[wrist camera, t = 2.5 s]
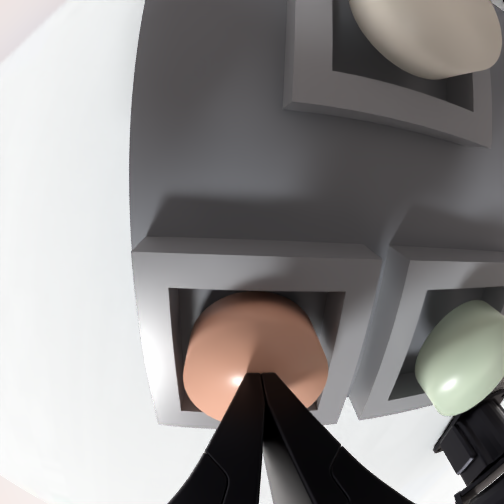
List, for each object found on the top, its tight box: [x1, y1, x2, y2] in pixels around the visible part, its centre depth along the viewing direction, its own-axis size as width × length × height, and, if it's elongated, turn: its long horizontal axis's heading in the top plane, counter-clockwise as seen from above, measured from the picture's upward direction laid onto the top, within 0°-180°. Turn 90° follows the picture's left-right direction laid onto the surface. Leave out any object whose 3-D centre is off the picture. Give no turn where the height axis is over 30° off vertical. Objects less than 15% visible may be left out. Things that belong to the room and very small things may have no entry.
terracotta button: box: [183, 291, 328, 421], centre depth 9 cm, size 4×4×2 cm
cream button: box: [349, 0, 502, 80], centre depth 5 cm, size 4×4×2 cm
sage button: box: [415, 300, 504, 416], centre depth 9 cm, size 4×4×2 cm
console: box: [129, 0, 504, 429], centre depth 10 cm, size 16×19×4 cm
